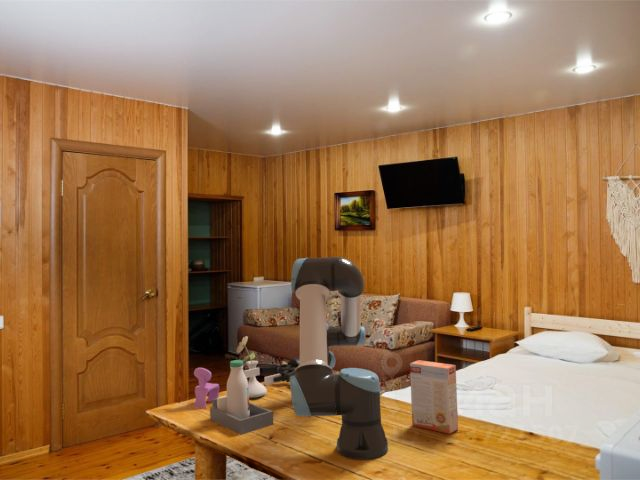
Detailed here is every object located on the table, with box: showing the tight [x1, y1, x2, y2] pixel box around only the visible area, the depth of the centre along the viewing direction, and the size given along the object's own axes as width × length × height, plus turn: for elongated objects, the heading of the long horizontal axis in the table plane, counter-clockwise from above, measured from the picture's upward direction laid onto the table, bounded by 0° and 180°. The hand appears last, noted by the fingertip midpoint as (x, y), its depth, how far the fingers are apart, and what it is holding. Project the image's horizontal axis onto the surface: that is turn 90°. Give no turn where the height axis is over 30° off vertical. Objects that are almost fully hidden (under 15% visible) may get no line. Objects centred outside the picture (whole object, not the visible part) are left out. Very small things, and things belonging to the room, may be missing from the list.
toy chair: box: [192, 367, 220, 410], centre depth 207 cm, size 8×9×15 cm
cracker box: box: [409, 359, 459, 435], centre depth 174 cm, size 14×6×21 cm, turn 47°
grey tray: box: [209, 398, 274, 435], centre depth 186 cm, size 20×13×7 cm, turn 40°
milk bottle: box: [226, 359, 250, 419], centre depth 187 cm, size 8×8×20 cm
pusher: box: [217, 394, 227, 413], centre depth 191 cm, size 2×10×7 cm, turn 130°
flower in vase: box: [235, 335, 268, 399], centre depth 216 cm, size 13×11×25 cm
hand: (254, 377), depth 192 cm, fingers open, 13 cm apart
